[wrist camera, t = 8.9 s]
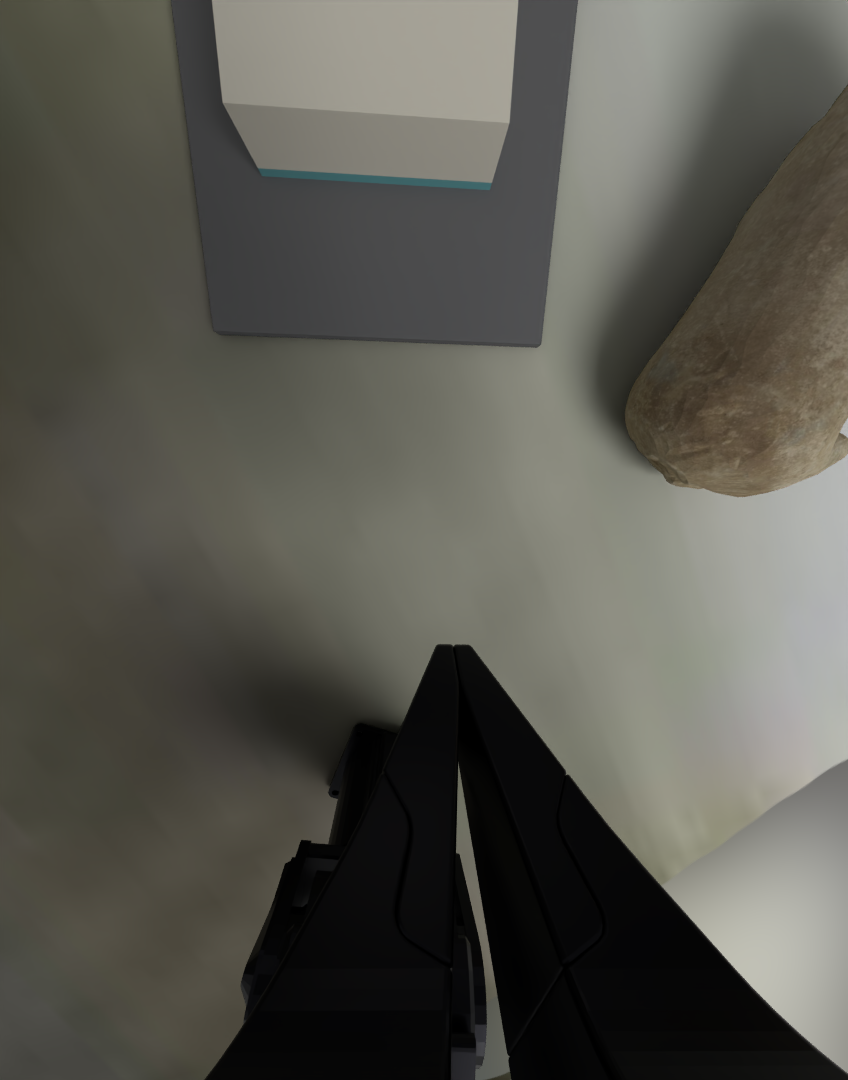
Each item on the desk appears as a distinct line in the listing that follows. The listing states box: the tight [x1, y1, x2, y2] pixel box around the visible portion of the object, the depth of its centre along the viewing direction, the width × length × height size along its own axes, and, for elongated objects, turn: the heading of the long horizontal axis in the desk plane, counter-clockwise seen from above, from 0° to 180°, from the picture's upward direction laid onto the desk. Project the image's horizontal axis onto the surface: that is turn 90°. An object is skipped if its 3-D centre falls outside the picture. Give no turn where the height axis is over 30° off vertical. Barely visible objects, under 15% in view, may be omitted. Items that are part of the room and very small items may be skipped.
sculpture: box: [625, 85, 848, 497], centre depth 13 cm, size 9×17×10 cm
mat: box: [171, 0, 578, 348], centre depth 14 cm, size 18×16×1 cm
